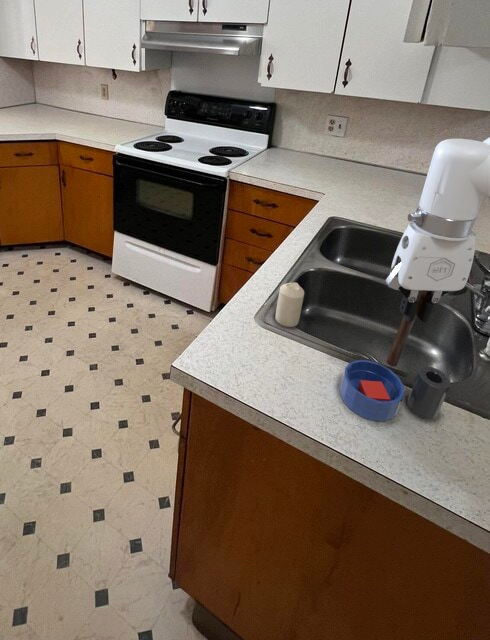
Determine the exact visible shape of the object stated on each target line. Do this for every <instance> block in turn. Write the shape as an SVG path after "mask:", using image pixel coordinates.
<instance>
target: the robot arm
mask: <svg viewBox="0 0 490 640" xmlns="http://www.w3.org/2000/svg"><path fill="white" fill-rule="evenodd" d="M432 153H433V154H432V158H431V160H430V164H429V168H428V171H427V175H426V178H425V182H424V186H423V189H422V193H421V196H420V199H419V201H418V206H416V209H415V211H414V212H409V213H408V214H407V221H408V222H410V223H408V225H407V227H406V228H405V231H404V232H403V234H402V237H401V238H400V240H399V242H398V245H397V247H396V251H395V253H394V256H393V259H392V263H391V266H390V273H389V275H388V276H387V277H386V279H385V281H384V283H385V284H386V285H387V287H388V288H389V289H393V290H395V291H399V292H400V293H401V294H402V298H401V301H400V305H399V311H400V313H401V314H402V317H403V316H404V317H405V318H406V320H407V321H408V322H412V321H413V319H414V316H415V313H416V310H417V307H418V302H417V301H416V299H417V295H418V292H419V290H424V291H427V294H426V297H425V299H424V301H423V304H422V306H421V309H420V311H419V314H418V317H417V319H418V320H420V322H422V323H427V322H428V319H429V316H430V315H431V313H432V310H433V307H434V304H437V303H438V302H440V299H441V297H443V296H445V295H447V294H448V293H449V292H457V291H461V290H463V289H464V288H465V286H466V285H467V283H468V280H469V276H470V273H471V270H472V266H473V261H474V258H475V257H474V256H475V252H476V251H475V250H476V238H477V236H476V233H475V232H474V231H473V229H474V226H475V222H476V220H477V217H478V215H479V212H480V209H481V206H482V203H483V201H484V198H485V197H488V198H490V136H489V137H488V138H486V139H484V140H483V141H479V140H474V139H470V138H447V139H444V140H442V141H440V142H439V143H438V144H437V145H436V146H435V148H434V151H433V152H432Z"/></svg>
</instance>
